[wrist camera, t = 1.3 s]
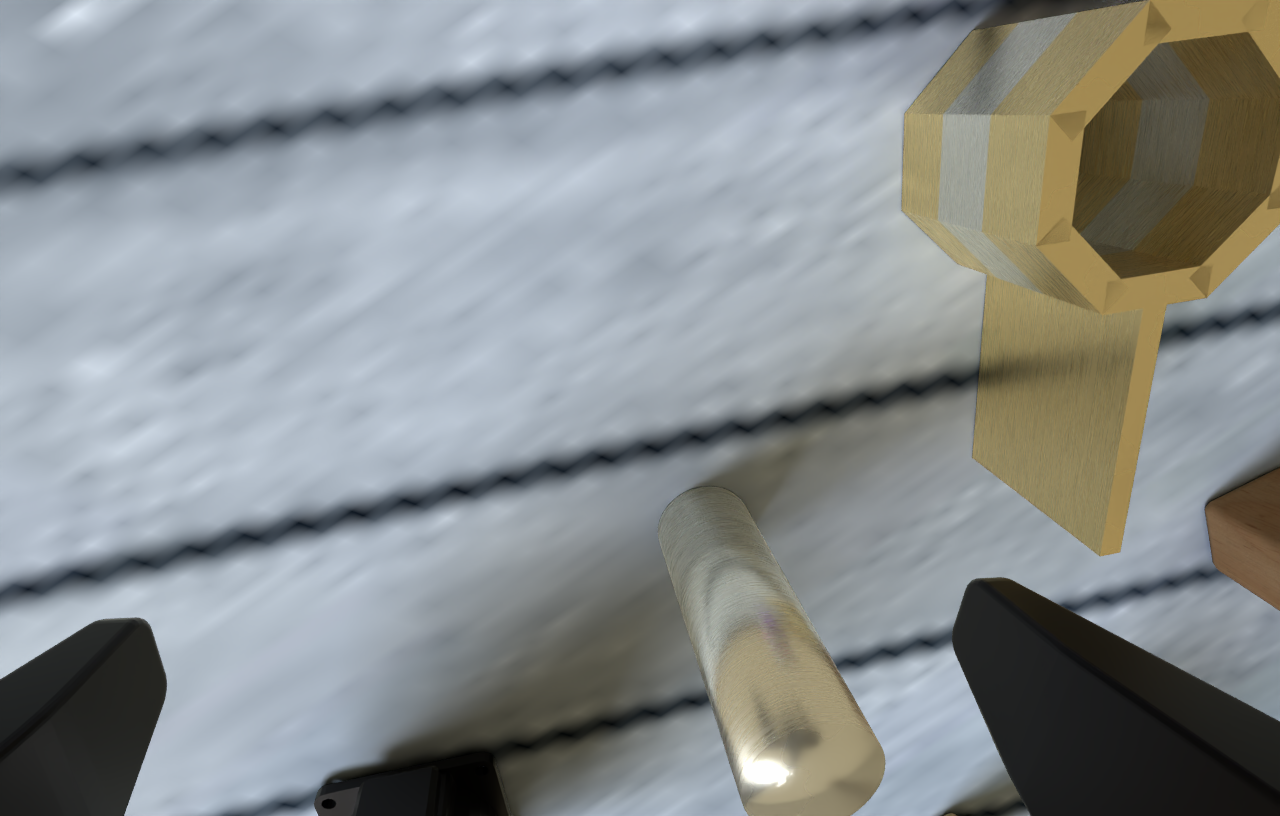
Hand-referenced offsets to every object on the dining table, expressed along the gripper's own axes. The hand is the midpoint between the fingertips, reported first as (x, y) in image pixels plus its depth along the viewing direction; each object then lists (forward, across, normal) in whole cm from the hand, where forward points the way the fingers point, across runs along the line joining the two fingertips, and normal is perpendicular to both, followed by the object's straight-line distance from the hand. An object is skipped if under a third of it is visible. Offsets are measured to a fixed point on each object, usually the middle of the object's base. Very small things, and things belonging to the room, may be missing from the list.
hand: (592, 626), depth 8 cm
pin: (+13, -5, +8) cm, 17 cm away
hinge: (+14, -16, -2) cm, 22 cm away
